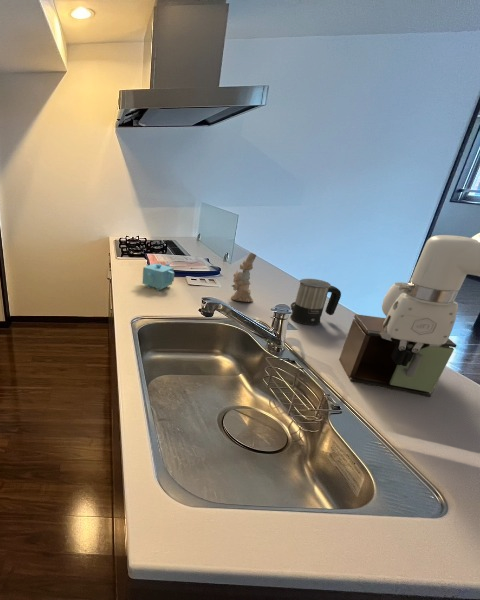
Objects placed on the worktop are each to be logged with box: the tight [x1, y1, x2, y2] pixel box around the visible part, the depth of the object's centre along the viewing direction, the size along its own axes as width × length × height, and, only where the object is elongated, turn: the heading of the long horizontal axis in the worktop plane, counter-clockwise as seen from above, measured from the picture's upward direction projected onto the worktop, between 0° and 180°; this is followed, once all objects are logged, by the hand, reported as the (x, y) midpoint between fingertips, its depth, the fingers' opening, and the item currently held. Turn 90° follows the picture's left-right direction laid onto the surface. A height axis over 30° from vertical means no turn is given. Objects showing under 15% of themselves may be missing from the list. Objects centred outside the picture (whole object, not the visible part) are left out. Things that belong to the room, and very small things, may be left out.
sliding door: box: [390, 341, 455, 394], centre depth 77 cm, size 8×4×13 cm, turn 66°
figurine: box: [230, 252, 257, 303], centre depth 133 cm, size 9×8×20 cm
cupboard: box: [338, 313, 457, 398], centre depth 84 cm, size 16×11×15 cm
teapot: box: [141, 262, 176, 291], centre depth 151 cm, size 16×18×11 cm
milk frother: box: [289, 278, 342, 326], centre depth 119 cm, size 14×16×15 cm
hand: (398, 362), depth 77 cm, fingers closed
